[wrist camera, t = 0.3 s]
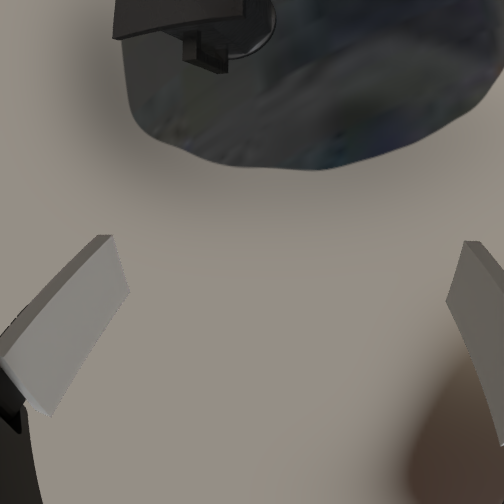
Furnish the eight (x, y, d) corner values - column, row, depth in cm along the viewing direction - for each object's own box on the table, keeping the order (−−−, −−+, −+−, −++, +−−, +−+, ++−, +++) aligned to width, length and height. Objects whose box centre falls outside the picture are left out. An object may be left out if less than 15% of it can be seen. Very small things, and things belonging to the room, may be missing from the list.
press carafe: (193, -8, 28) (124, -58, 14) (276, -16, 26) (244, -87, 12) (190, 80, 33) (111, 64, 19) (276, 76, 31) (242, 44, 17)
